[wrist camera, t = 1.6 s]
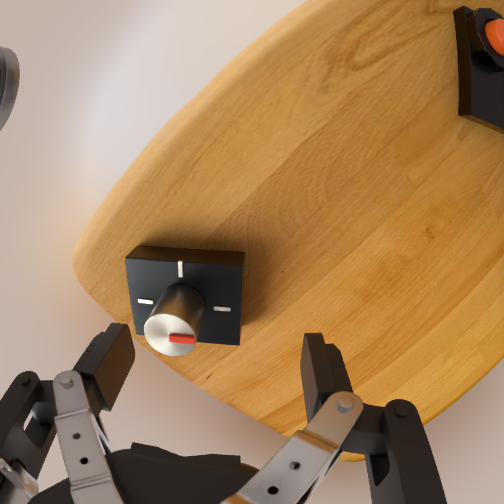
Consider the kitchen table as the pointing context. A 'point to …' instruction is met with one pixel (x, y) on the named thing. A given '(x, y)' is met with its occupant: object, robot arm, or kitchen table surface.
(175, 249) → the dial panel
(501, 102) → the black button box
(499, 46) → the button
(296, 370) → the kitchen table surface
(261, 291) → the kitchen table surface
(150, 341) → the dial
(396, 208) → the kitchen table surface
